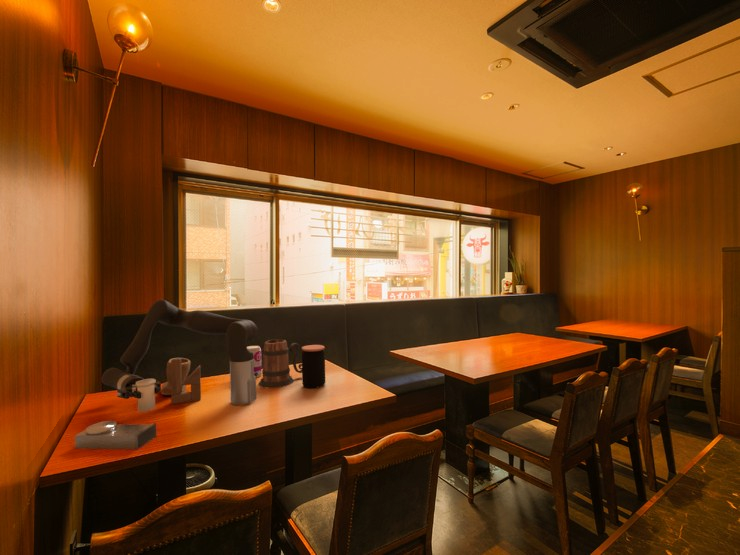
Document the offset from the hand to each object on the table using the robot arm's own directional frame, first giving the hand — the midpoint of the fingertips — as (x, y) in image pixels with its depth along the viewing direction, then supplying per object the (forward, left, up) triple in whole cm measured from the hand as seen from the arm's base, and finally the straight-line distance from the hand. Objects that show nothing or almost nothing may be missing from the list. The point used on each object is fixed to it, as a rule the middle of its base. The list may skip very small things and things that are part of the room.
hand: (149, 393), depth 125 cm
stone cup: (+12, -34, -11) cm, 37 cm away
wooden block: (0, -22, -11) cm, 24 cm away
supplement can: (-14, -58, -11) cm, 60 cm away
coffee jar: (-49, -43, -11) cm, 66 cm away
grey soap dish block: (+1, +14, -11) cm, 18 cm away
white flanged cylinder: (+2, -1, -6) cm, 7 cm away
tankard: (-32, -50, -11) cm, 60 cm away
